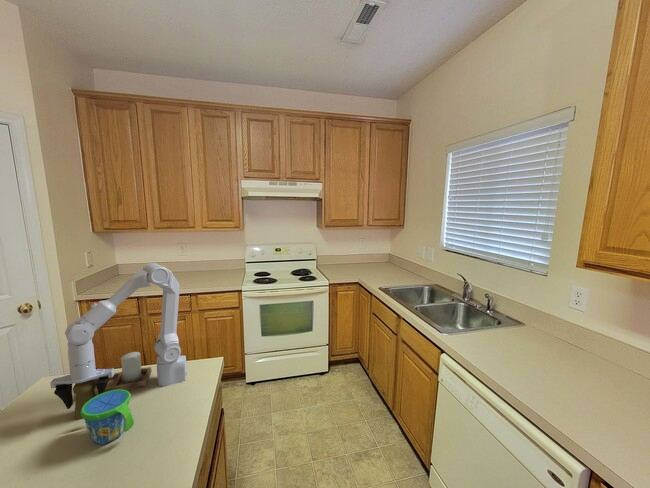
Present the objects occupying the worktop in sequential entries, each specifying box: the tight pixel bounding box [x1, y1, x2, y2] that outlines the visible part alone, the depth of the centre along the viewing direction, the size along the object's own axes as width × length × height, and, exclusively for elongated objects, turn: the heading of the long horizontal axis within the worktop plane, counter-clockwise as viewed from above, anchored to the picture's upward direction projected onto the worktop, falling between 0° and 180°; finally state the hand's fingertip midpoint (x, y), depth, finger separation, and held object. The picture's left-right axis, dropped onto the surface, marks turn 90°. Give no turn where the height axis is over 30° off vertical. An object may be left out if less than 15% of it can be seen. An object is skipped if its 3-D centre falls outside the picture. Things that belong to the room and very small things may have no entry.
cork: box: [72, 380, 96, 420], centre depth 83 cm, size 6×6×11 cm
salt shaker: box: [120, 351, 142, 384], centre depth 98 cm, size 6×6×10 cm
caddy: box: [94, 366, 152, 396], centre depth 96 cm, size 19×10×3 cm, turn 113°
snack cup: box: [80, 389, 135, 446], centre depth 75 cm, size 16×10×10 cm
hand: (86, 403), depth 83 cm, fingers open, 7 cm apart
